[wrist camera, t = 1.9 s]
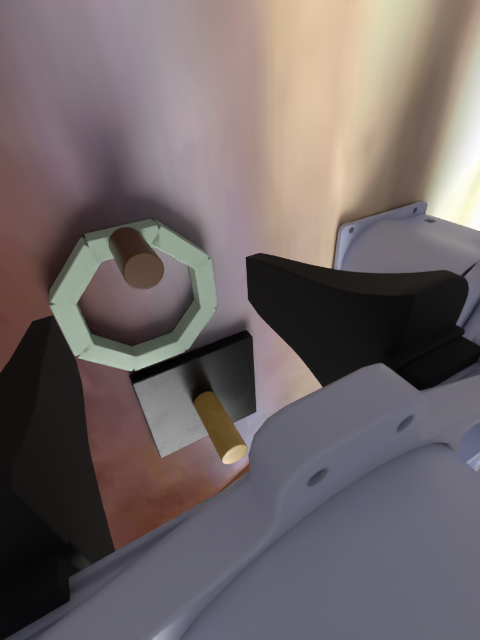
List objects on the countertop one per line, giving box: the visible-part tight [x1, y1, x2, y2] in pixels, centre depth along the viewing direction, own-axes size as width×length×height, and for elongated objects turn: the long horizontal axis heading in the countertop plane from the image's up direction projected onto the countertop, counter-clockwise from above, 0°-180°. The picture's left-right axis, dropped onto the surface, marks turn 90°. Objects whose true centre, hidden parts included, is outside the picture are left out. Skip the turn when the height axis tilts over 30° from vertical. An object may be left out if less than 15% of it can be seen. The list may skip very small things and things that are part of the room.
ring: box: [49, 219, 218, 371], centre depth 19 cm, size 10×9×5 cm
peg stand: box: [129, 330, 256, 464], centre depth 25 cm, size 10×10×6 cm
